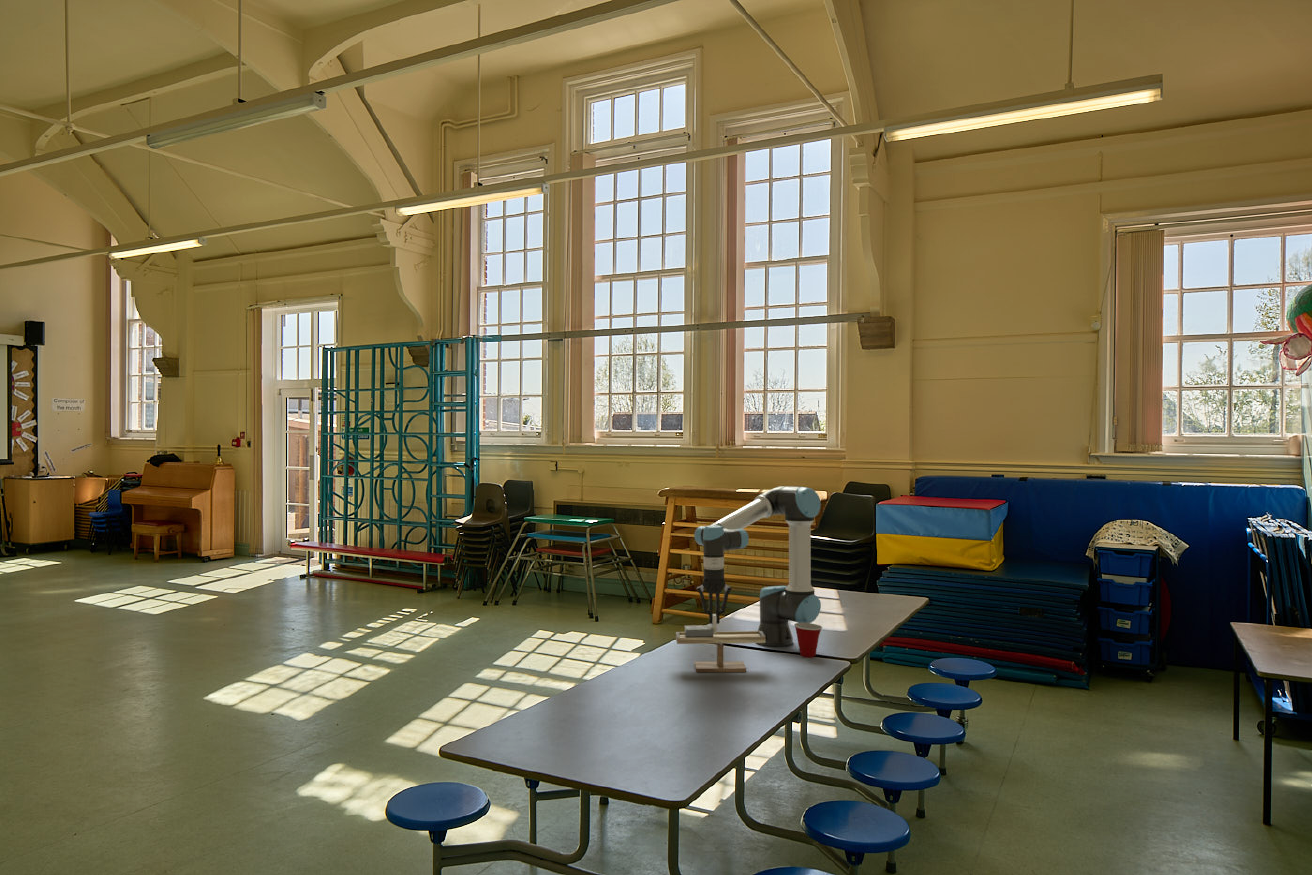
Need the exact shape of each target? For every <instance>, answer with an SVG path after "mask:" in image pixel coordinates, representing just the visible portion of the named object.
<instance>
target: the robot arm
mask: <svg viewBox="0 0 1312 875" xmlns="http://www.w3.org/2000/svg"><path fill="white" fill-rule="evenodd" d="M821 505H822V504H821V499H820V496H819V494H818V492H816V490H814V489H813V488H810V487H805V486H787V485H781V486H776V487H774V488H771V489H769V490H767V491H764V492H762V493H761V494H759V495H757V496H756V497H754V500H753V501H751V502H750V503H748V504H745V505H744V506H742V507H740V508H739V509H737V510H735V511H733V512H732V513H730V514H728V515H726V516H724V517H722V518H720V519H719V520H717V521H715V522H713V523H711V524H710V525H701V526H698V527H697V528H696V529H695V531H694V535H693V536H694V540H695V543H697V544H698V545H699V546H702V547H703V568H704V569H703V581H702V584H701V585H699V586H697V587H696V591H697V592H698V594H699V597H700V600H701V605H702V608H703V613H704V614H705V615H706V614H707V615H708V622H709V625H712V627H713V633H717V632H718V631H717V624H720V620H721V619H720V616H721V614H724V613H725V611H726V607H727V603H728V600H729V599H728V598H729V594H730V593H731V592H732V587H731V586H730V585H728V584H727V583H726V582H725V569H724V567H725V551H732V550H741V549H744V548H746V547H747V546H748V544H749V539H750V538H749V533H748V532H747V531H746V530H745V528H747V527H748V526H751V525H753V523H756V522H757V521H759V520H761V519H762V518H765V519H767V518H770V517H771V516H776V515H783V516H784V521H785V522H786V523H787V525H788V584H787V585H774V586H773V585H772V586H764V587H762V588H760V593H759V625H758V629H757V631H762V632H763V633H764V635H765V643H757V644H758V645H761V646H764V647H765V646H766V647H787V646H786V645H788V646H791V645H793V643H794V641H793V640H794V638H793V634H792V631H791V628H790V625H789V621H790V622H795V623H812V624H813V622H814V621H816V620H817V618H818V617H819V614H820V612H821V608H822V607H821V606H822V604H821V599H820V598H819V596H817V595H815V587H813V586H812V583H811V581H812V580H811V579H812V576H811V573H812V570H811V566H812V565H811V564H812V563H811V562H812V561H811V560H812V559H811V557H812V556H811V555H812V554H811V551H812V550H811V549H812V548H811V537H812V536H811V528H812V527H811V526H812V524H813V523H814V522H815V517H816V516H818V515H819V514H820V510H821ZM704 589H705V591H706V592H707V594H708V606H707V603H706V598H705V595H704ZM723 590H724V593H723V598H722V603H721V602H720V594H721V592H722V591H723ZM714 594H715V613H713V612H714V611H713V609H714V608H713V607H714V605H713V600H714V599H713V597H714V596H713V595H714ZM720 603H721V604H720ZM720 605H721V607H720ZM790 644H791V645H790Z"/></svg>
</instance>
